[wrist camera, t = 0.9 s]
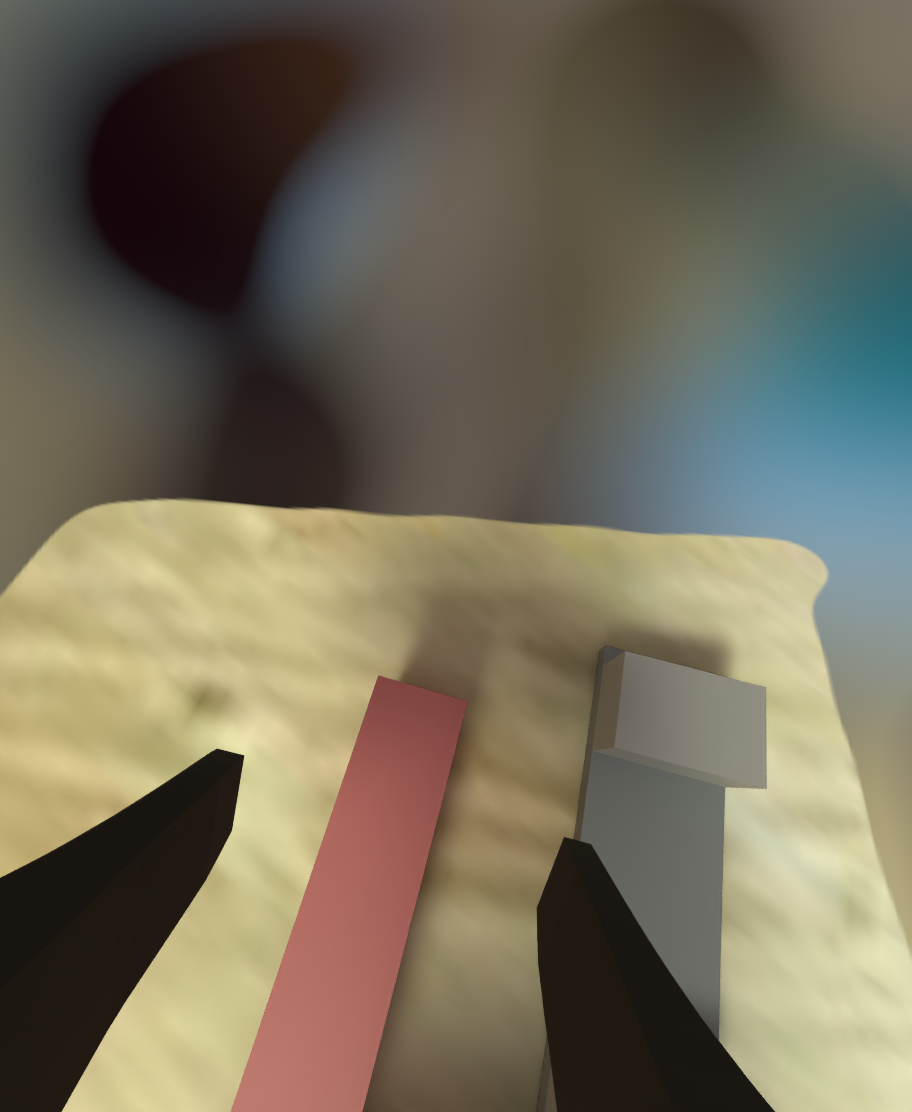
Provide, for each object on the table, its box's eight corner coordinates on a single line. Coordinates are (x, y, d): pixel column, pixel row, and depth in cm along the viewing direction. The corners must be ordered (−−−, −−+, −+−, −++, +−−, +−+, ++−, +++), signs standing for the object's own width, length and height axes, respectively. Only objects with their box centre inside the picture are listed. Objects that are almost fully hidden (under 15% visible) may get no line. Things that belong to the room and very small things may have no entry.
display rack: (696, 1258, 17) (770, 1393, 13) (524, 1200, 17) (549, 1315, 13) (716, 680, 25) (765, 664, 21) (599, 650, 25) (627, 628, 22)
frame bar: (340, 1176, 17) (297, 1361, 12) (248, 1142, 18) (164, 1308, 12) (459, 718, 24) (467, 701, 18) (390, 698, 24) (378, 675, 19)
